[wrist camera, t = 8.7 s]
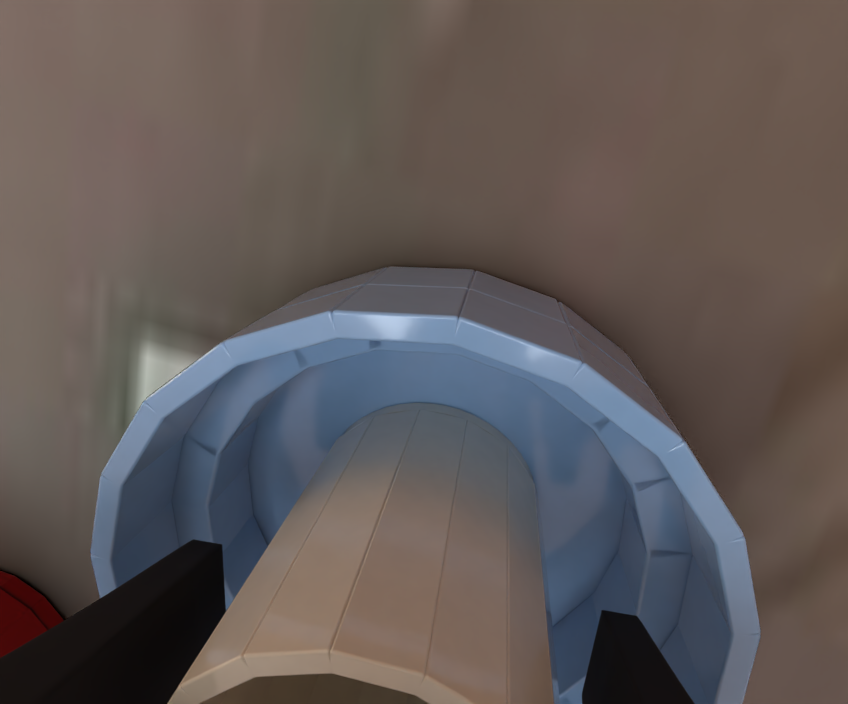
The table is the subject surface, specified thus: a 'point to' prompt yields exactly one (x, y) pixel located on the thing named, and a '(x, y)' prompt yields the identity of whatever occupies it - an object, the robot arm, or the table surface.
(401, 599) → the cup
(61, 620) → the plastic cup
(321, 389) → the bowl
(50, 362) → the table surface
